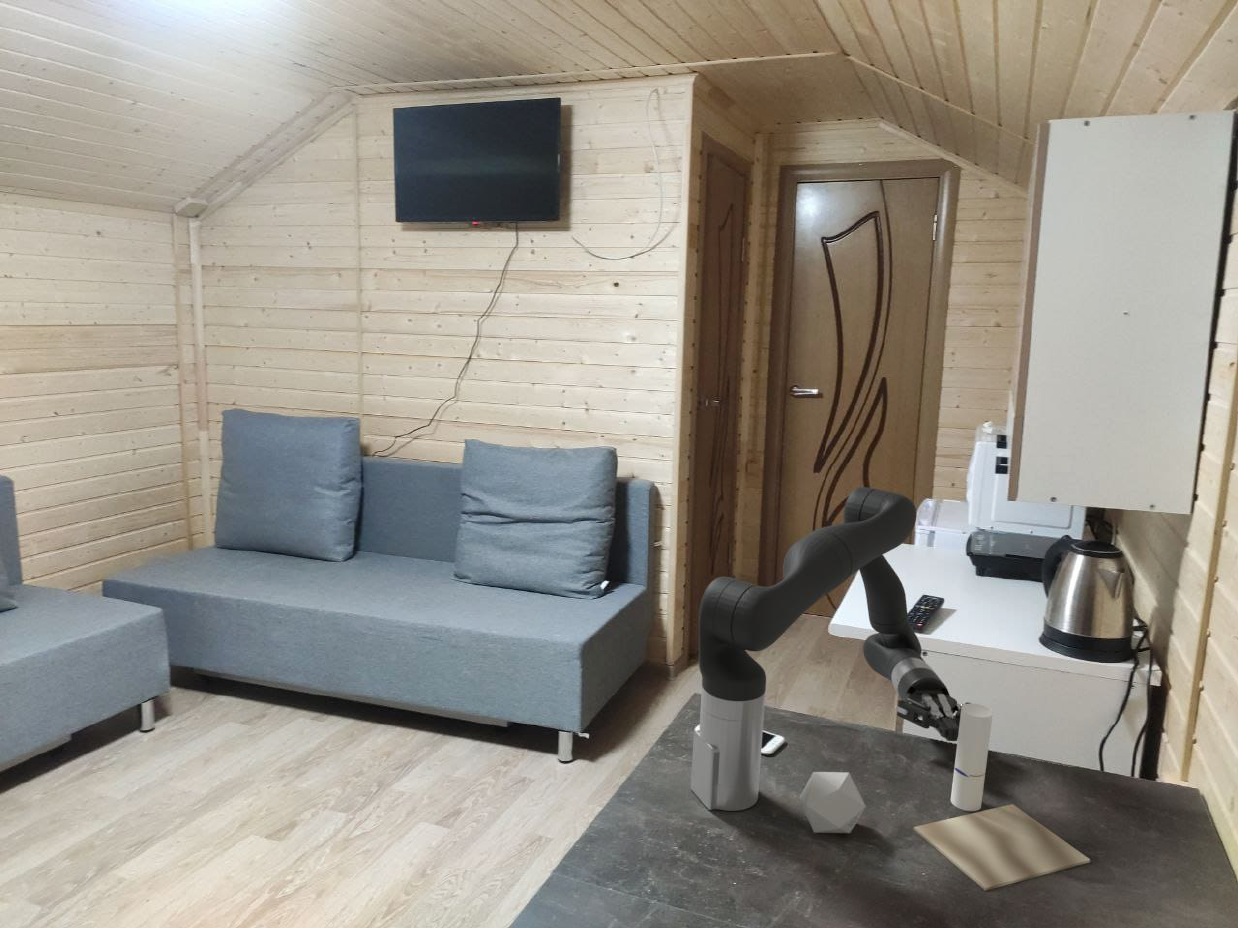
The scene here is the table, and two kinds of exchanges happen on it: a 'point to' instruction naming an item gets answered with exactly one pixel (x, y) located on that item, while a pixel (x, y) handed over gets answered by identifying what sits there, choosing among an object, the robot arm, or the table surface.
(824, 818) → the die
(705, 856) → the table surface
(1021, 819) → the birch board
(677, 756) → the table surface
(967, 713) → the tube
